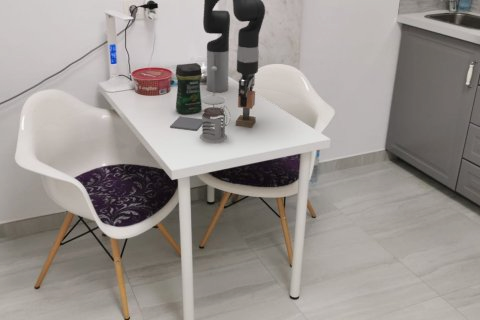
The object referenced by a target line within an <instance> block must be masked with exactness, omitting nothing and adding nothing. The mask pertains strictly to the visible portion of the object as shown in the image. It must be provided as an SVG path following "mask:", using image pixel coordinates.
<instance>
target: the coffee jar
mask: <svg viewBox="0 0 480 320" xmlns="http://www.w3.org/2000/svg"><path fill="white" fill-rule="evenodd" d="M175 67H176V68H175V77H176V80H177V88H176V89H177V91H176V100H175V102H176V103H175V109H176V112H178V113H179V114H183V115H189V114H196V113H200V112H201V111H203V110H202V95H201V86H200V85H201V78H202V76H203V75H202V67H201V65H200V64H199V63H197V62H195V63H194V62H193V63H184V64H177V65H176V66H175Z"/></svg>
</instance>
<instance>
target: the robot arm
mask: <svg viewBox="0 0 480 320" xmlns="http://www.w3.org/2000/svg"><path fill="white" fill-rule="evenodd" d="M219 1H220V0H204V4H203V18H202V19H203V20H202V21H203V22H202V23H203V30H204V32H205V33H207V34H213V35H214V34H215V35H216V34H218V35H220V36H219V37H217V38H216V39H212V40H210V41H208V42H207V45H206V89H207V90H208V91H209V92H212V93H213V90H214V93H222V92H227V91H228V90H229V66H230V65H229V62H230V61H229V59H230V58H229V57H230V56H229V55H230V54H229V53H230V47H229V46H230V29H231V28H230V26H231V15H230V12H229V11H228V10H217V9H216V10H214V8H215V6H216V5H217V3H219ZM232 8H233V9H232V11H233V14H234V15H233V16H234V17H235V19H236V20H237V21H239V22H248V24H247V25H246V26H243V27H241V28H240V29H239V30H238V33H237V37H238V38H237V50H236V51H237V52H236V71H237V73H239V74H240V75H241V77H240V79H238V94H237V95H238V96H240V106H241V107H246V106H247V94H248V91H253V89H254V87H255V79H256V77H255V76H256V75H255V74H257V73H258V72H259V58H260V56H259V55H260V54H259V53H260V52H259V43H260V42H259V39H260V37H259V36H260V32H261V28H262V25H263V21H264V19H265V14H266V6H265V4H264V2H263V1H262V0H232ZM212 67H216V68H217V70H216V71H212V70H211V68H212ZM207 90H206V91H207ZM242 91H244V93H242Z"/></svg>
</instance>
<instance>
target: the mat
mask: <svg viewBox="0 0 480 320" xmlns="http://www.w3.org/2000/svg"><path fill="white" fill-rule="evenodd" d="M202 126H203V125H202V118H195V117H188V116H179V117H177V119H175V120H174V121H173V123H171V124H170V126H169V128H170V129H177V130H185V131H196V132H197V131H198V130H199V129H200V128H202Z"/></svg>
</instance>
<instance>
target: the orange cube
mask: <svg viewBox="0 0 480 320" xmlns="http://www.w3.org/2000/svg"><path fill="white" fill-rule="evenodd" d="M242 93H244V91H242ZM237 98H238V99H237V103H238V104H237V107H238V108H240V109H241V108H242V109H243V108H249V109H250V110H252V109H253V107H255V105H256V104H255V103H256V91H255V90H252V91H248V94H247V106H246V107H241V106H240V96H238V97H237Z"/></svg>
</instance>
